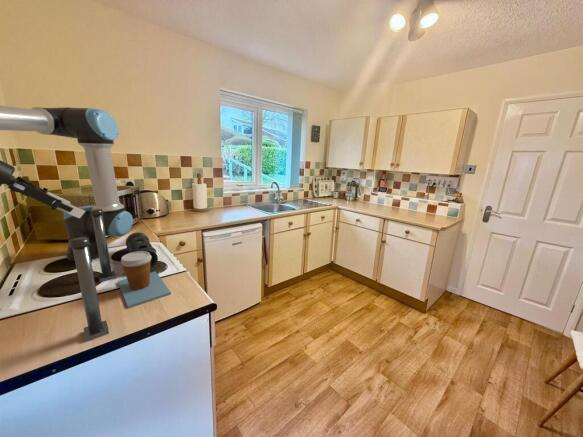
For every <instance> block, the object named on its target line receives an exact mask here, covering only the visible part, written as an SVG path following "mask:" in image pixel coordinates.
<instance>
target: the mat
mask: <svg viewBox="0 0 583 437" xmlns="http://www.w3.org/2000/svg"><path fill="white" fill-rule="evenodd" d="M117 284H118V286H119V288H120V291H121V294H122V297H123V298H124V301H125V304H126V306H127V309H130V308H133V307H137V306H140V305H143V304H145V303H148V302H151V301H154V300H157V299H161V298H163V297H167V296H169V295H170V296H171V294H172V292H171V290H170V289H169V287H168V286H167V284H165V282H164V281H163V279H162V278H161V277H160V275H159V274H158V273H157V271H152V272H151V271H150V284H149V286H147V287H146V288H143V289H140V290H132V289H130V286H129V283H128V280H127V278H124V279H120V280H118V281H117Z"/></svg>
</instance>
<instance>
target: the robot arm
mask: <svg viewBox="0 0 583 437" xmlns="http://www.w3.org/2000/svg"><path fill="white" fill-rule="evenodd" d="M0 131H11V132H12V131H16V132H18V131H19V132H36V133H38V134H41V135H49V136H50V135H51V136H57V137H64V138H65V137H66V138H71V139H76V141H77V144H78V145H79V146H81V147H82V148H83V149H84V156H85V160H86V164H87V169H88V173H89V179H90V183H91V184H90V185H91V189H92V192H93V198H94V202H95V205H84V206H78V207H77V206H75V205H73V204H71V201H69V200H67V199H65V198H62V197H60V196H58V195H56V194H54V193H52V192H50V191H49V188H47V187H43V188H42V187H39V186H37V185H35V184H33V182H30V181H28V180H26V179H25V178H23V177H21V176H17V177H16V176H14V175H13V174H14V173H15V170H16V169H15V167H14V166H13V165H11V164H9V163H7V162H6V161H3V160H0V187H1V186H3V185H6V186H8V187H7V188H8V189H9V190H10V191H12V192H15V193H18V194H21V195H23V196H25V197H29V198H32V199H33V200H36V201H38V202H41V203H42V204H44V205H47V206H49V207H50V208H51V209H50V210H53V211H56V209H57V210H59V211H62V212H63V222H64V226H65V229H66V235H67V239H68V244H67V249H66V253H65V256H66V259H67V260H68V261H71V262H75V259H74V253H73V248H71V247H70V242H69V240H71V239H74V238H79V237H88V238H89V245H88V247H89V252H90V258H91V260H94V259H97V258H98V259H99V254H98V248H97V242H96V236H95V230H94V225H93V219H92V215H91V213H90V210H94V209H102V210H103V214H102V215H103V222H104V228H105V234H106V237H111V238H113V237H124V236H125V235H127V234H128V233H129V232H130V230H131V228H132V226H133V220H134V219H133V215H132V214H131V213H130V212H129V211H126V208H125V205H124V204H123V203H121V202H120V197H119V192H118V186H117V179H116V173H115V168H114V163H113V157H112V152H111V148H112V147H113V146H114V145H115V143H114V140H116V139H118V136H119V133H120V132H119V131H120V130H119V127H118V124H117V122H116V120H115V118H114V117H113V116H112V115H111V114H110V113H109V112H107V111H106V110H104V109H99V108H98V109H97V108H92V107H91V108H90V107H87V108H86V107H85V108H84V107H69V106H68V107H39V106H35V107H32V108H23V107H15V106H14V107H13V106H5V105H0Z"/></svg>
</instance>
